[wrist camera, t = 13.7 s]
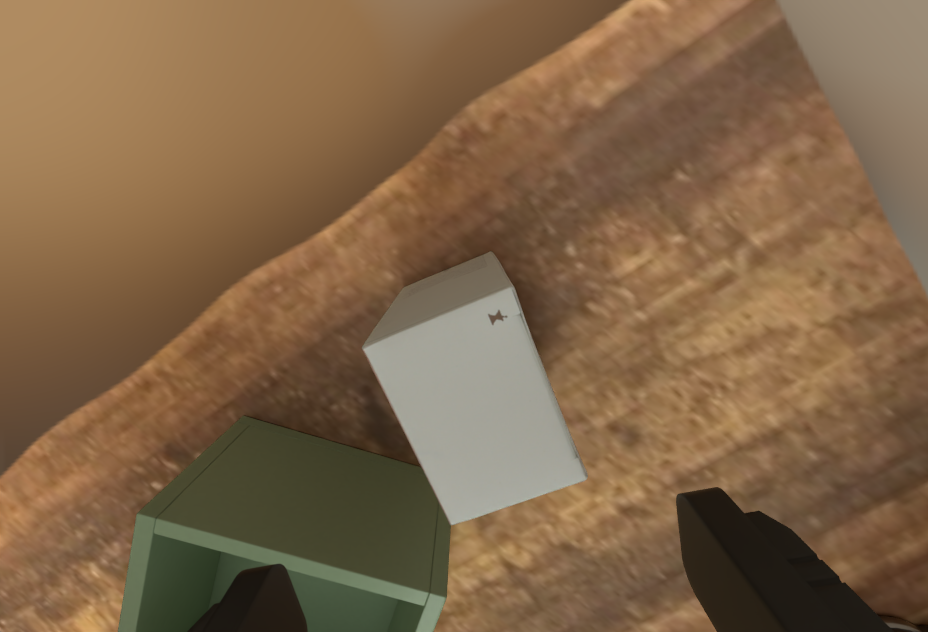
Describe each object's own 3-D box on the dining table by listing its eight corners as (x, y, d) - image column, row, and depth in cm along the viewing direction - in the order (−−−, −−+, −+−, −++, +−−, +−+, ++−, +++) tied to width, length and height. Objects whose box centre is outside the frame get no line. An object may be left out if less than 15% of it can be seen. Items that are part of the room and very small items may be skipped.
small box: (401, 286, 24) (354, 342, 14) (493, 248, 24) (512, 279, 14) (455, 406, 26) (447, 532, 16) (542, 374, 26) (591, 484, 15)
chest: (243, 414, 27) (136, 513, 18) (453, 476, 27) (446, 597, 19) (201, 608, 30) (95, 766, 22) (388, 657, 31) (357, 826, 23)
